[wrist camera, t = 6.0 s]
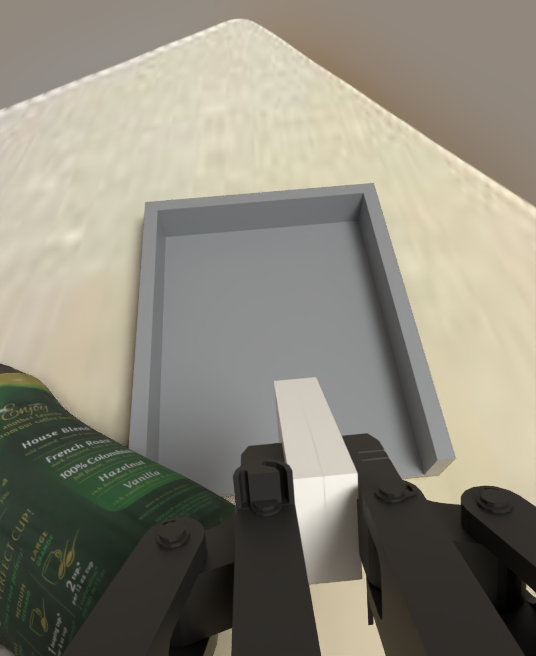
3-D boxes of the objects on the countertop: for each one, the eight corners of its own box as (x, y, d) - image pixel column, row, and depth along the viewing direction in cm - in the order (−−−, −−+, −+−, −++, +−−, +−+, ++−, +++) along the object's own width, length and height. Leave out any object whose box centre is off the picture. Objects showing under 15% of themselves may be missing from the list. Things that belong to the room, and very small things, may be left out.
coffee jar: (270, 491, 22) (18, 338, 30) (148, 587, 15) (-139, 354, 23) (214, 656, 24) (-6, 474, 32) (86, 806, 17) (-155, 525, 25)
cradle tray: (438, 475, 29) (455, 458, 26) (141, 504, 29) (125, 490, 26) (367, 215, 41) (373, 183, 38) (155, 233, 41) (145, 202, 38)
